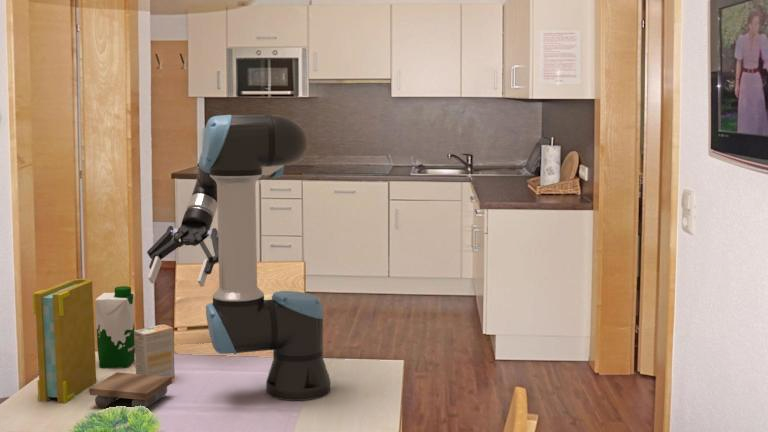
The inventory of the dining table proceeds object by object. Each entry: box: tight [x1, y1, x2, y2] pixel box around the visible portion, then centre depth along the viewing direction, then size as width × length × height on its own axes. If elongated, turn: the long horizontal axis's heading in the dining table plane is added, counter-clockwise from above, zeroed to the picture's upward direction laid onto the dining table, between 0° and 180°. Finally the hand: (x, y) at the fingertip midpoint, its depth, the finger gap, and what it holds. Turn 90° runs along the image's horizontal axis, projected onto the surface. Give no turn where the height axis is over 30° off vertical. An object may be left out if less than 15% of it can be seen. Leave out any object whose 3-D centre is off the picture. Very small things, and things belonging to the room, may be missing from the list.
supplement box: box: [134, 324, 176, 380], centre depth 224 cm, size 8×5×13 cm, turn 135°
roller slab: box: [88, 372, 173, 409], centre depth 210 cm, size 14×12×4 cm
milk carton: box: [94, 285, 136, 369], centre depth 237 cm, size 9×9×20 cm
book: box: [32, 278, 97, 404], centre depth 216 cm, size 17×7×25 cm, turn 168°
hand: (175, 282), depth 234 cm, fingers open, 13 cm apart
